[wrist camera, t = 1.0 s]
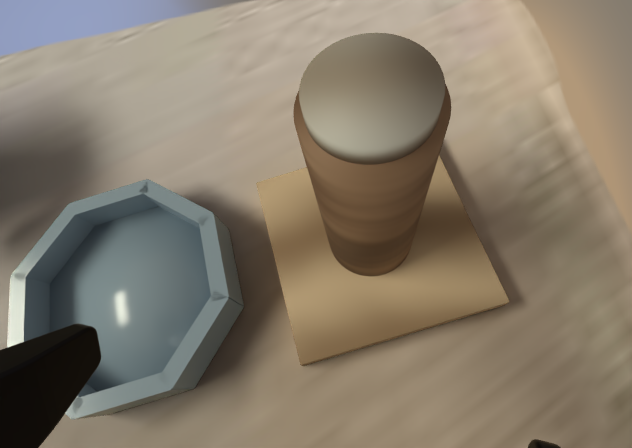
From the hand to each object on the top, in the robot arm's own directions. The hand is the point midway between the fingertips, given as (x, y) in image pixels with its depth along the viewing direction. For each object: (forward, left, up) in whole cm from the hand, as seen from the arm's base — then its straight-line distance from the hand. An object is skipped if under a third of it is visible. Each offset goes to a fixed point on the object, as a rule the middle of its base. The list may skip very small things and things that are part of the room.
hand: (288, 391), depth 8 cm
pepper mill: (+7, -4, -12) cm, 15 cm away
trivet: (+7, -4, -13) cm, 16 cm away
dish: (+8, +10, -13) cm, 18 cm away
